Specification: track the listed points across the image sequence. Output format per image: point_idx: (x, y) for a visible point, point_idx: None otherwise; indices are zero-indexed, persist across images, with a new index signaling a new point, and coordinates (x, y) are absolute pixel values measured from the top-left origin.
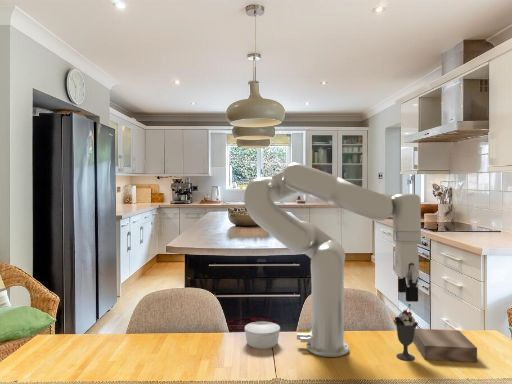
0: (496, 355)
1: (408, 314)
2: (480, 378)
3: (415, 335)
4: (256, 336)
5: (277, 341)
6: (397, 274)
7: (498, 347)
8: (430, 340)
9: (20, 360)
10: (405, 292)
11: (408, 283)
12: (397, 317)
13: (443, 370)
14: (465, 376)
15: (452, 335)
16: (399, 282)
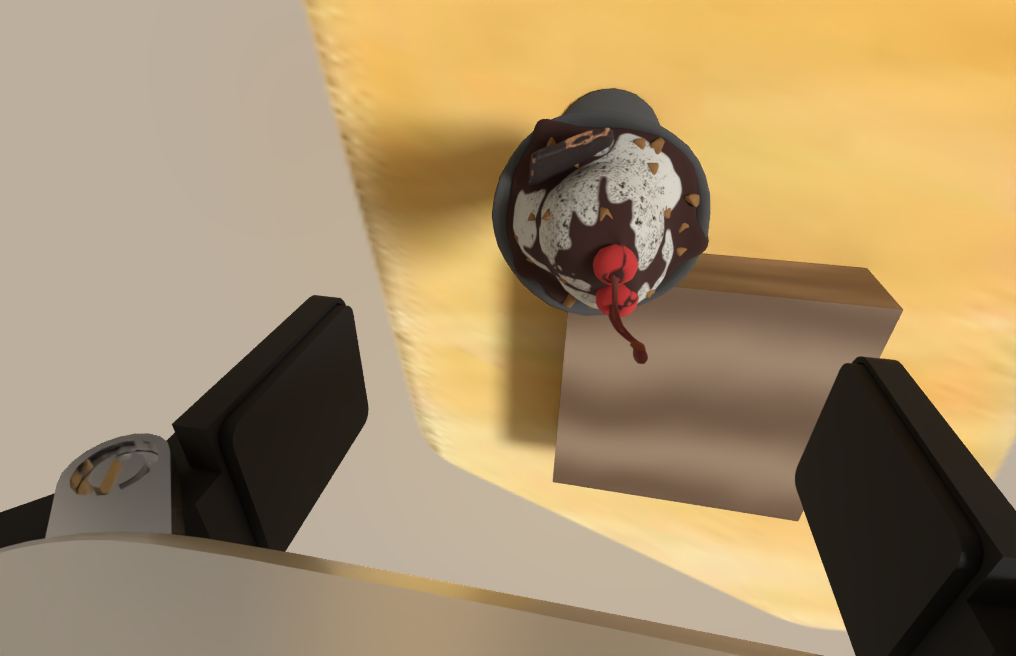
0: (630, 520)
1: (570, 275)
2: (414, 381)
3: (803, 290)
4: None
5: None
6: (496, 629)
7: (711, 563)
8: (652, 335)
9: None
10: (818, 434)
11: (63, 510)
12: (542, 148)
13: (461, 282)
14: (419, 340)
15: (725, 465)
16: (924, 497)
